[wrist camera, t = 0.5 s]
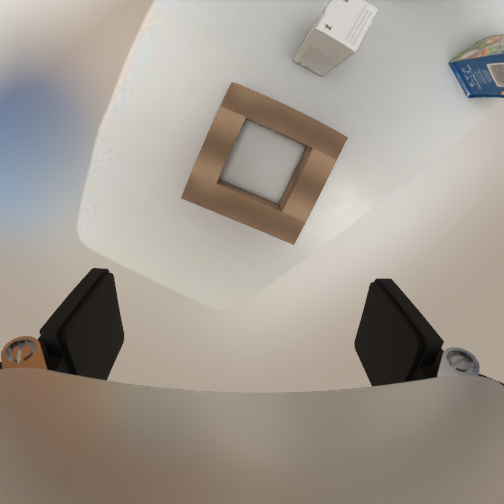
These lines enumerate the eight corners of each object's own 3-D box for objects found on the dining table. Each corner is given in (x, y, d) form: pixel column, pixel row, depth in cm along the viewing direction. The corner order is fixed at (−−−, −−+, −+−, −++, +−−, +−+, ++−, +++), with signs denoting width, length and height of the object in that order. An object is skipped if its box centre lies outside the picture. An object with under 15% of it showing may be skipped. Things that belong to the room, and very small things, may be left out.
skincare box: (322, 78, 32) (358, 57, 21) (289, 60, 31) (312, 30, 20) (343, 41, 30) (383, 11, 19) (311, 23, 29) (340, -16, 18)
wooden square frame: (232, 86, 32) (231, 82, 29) (338, 136, 35) (347, 137, 32) (186, 192, 37) (181, 198, 34) (289, 235, 39) (293, 244, 36)
